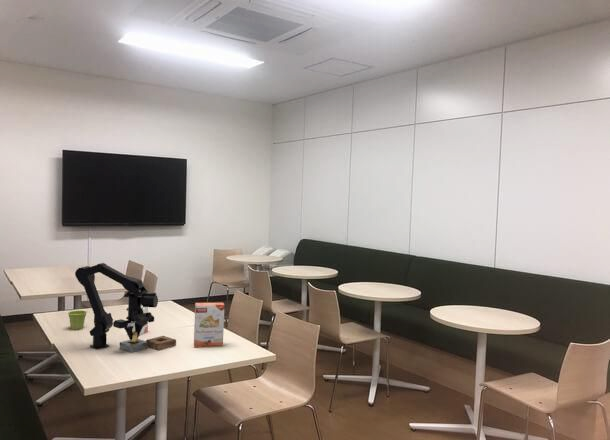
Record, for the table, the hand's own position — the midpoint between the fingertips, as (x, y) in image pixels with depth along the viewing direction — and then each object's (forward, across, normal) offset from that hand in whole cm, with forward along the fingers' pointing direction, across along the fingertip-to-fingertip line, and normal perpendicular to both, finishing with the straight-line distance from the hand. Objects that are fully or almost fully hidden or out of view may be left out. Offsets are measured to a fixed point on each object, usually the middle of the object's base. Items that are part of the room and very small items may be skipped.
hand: (133, 339), depth 223 cm
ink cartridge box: (+5, +17, +20) cm, 27 cm away
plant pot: (+5, 0, +51) cm, 51 cm away
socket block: (+4, 0, 0) cm, 4 cm away
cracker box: (+5, +27, -22) cm, 35 cm away
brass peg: (+4, 0, 0) cm, 4 cm away
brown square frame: (+4, +11, -6) cm, 13 cm away
